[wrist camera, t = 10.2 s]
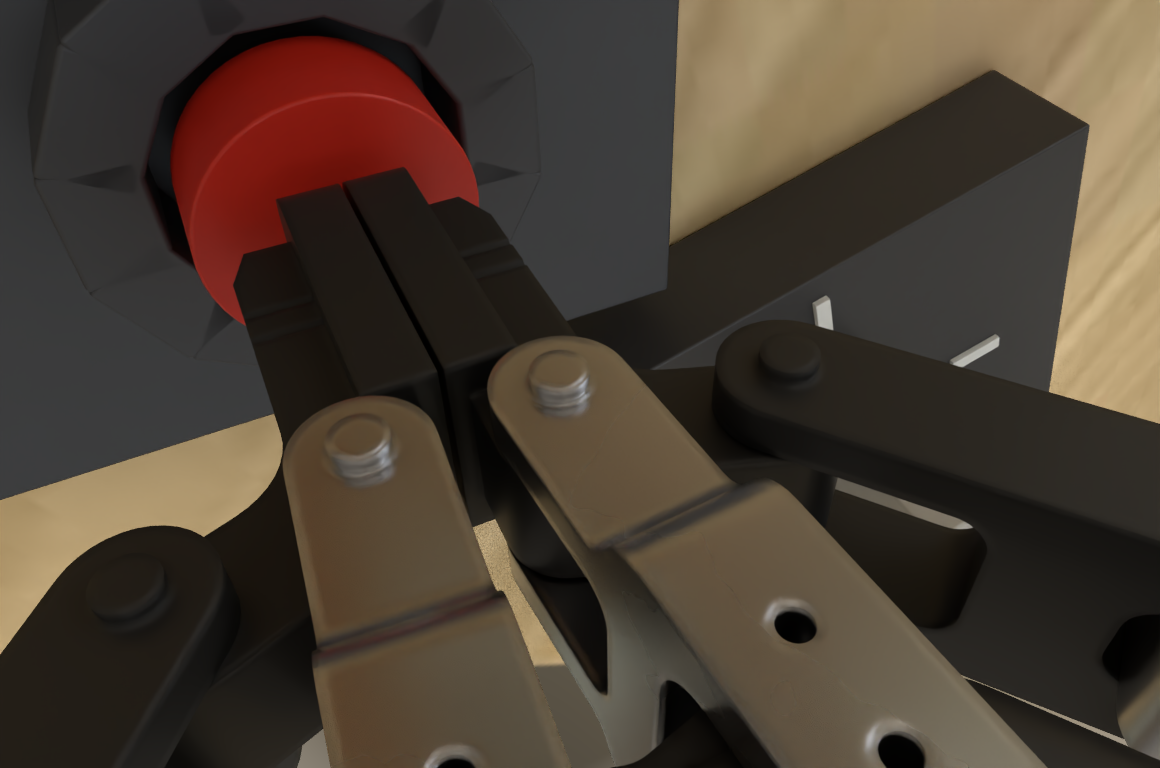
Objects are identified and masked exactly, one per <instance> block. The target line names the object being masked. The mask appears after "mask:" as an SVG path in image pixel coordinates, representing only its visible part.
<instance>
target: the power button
mask: <svg viewBox="0 0 1160 768" xmlns="http://www.w3.org/2000/svg"><path fill="white" fill-rule="evenodd" d="M400 167H405V168H406V169H407V171H408V172H409V174H410V175H411V177H412V178H413V180H414V182H415V183H416V185H417V186H418V188H419V190H420V191H421V193H422V194H423V196H424V198H425V199H426V201H427V202H428V204H432V203H436V202H440V201H444V200H447V199H451V198H455V197H461V198H463V199H464V200H466V201H468V202H470V203H472V204H473V205H475V206H477V207H479V195H478V188H477V183H476V178H475V175H474V172H473V169H472V167H471V164H470V161H469V160H468V158H467V156H466V154H465V152H464V150H463V148H462V147H461V146H460V144H459V143H458V141H457V140H456V139H455V137H454V136H453V135H452V133H451V132H450V130H449V129H448V128H447V126H446V125H445V124H444V122H443V121H442V119H441V118H440V117H439V115H438V114H437V113H436V111H435V110H434V108H433V107H432V106H431V104H430V103H429V102H428V100H427V99H426V97H425V96H424V95H423V93H422V92H421V91H420V89H419V88H418V87H417V85H416V84H415V83H414V81H413V80H412V79H411V78H410V77H409V76H408V75H407V74H406V73H405V72H404V71H403V70H402V69H401V68H400V67H399V66H397V65H396V64H395V63H393V62H392V61H391V60H389V59H388V58H387V57H385V56H383V55H381V54H379V53H378V52H376V51H374V50H372V49H370V48H367V47H365V46H362V45H360V44H357V43H355V42H351V41H347V40H343V39H339V38H332V37H323V36H297V37H290V38H283V39H278V40H274V41H271V42H267V43H263V44H260V45H258V46H256V47H253V48H251V49H248V50H246V51H244V52H242V53H240V54H239V55H237V56H235V57H233V58H232V59H230V60H228V61H227V62H225V63H224V64H223V65H222V66H220V67H219V68H218V69H216V70H215V71H214V72H213V73H211V74H210V76H209V77H208V78H207V79H206V80H205V81H204V82H203V83H202V84H201V85H200V86H199V87H198V88H197V90H196V91H195V92H194V94H193V95H192V97H191V98H190V99H189V101H188V102H187V104H186V106H185V108H184V110H183V112H182V114H181V116H180V118H179V121H178V123H177V126H176V129H175V132H174V136H173V141H172V147H171V158H170V170H171V178H172V185H173V189H174V192H175V196H176V200H177V203H178V207H179V211H180V214H181V218H182V222H183V225H184V229H185V232H186V236H187V240H188V243H189V247H190V251H191V254H192V258H193V261H194V264H195V268H196V270H197V272H198V274H199V277H200V279H201V281H202V283H203V285H204V286H205V288H206V289H207V291H208V292H209V293H210V295H211V296H212V298H213V299H214V300H215V301H216V302H217V303H218V304H219V305H220V306H221V307H222V309H223V310H224V311H226V312H227V313H228V314H229V315H231V316H232V317H233V318H234V319H236V320H237V321H238V322H240V323H242V324H243V325H245V326H246V324H245V321H244V318H243V315H242V312H241V309H240V306H239V303H238V300H237V297H236V293H235V290H234V287H233V283H234V281H235V278H236V275H237V272H238V269H239V266H240V263H241V260H242V257H243V254H246V253H249V252H253V251H257V250H261V249H264V248H268V247H272V246H276V245H279V244H283V243H287V241H286V237H285V234H284V230H283V227H282V224H281V220H280V216H279V213H278V209H277V205H276V199H278V198H282V197H286V196H290V195H294V194H298V193H302V192H306V191H310V190H314V189H318V188H322V187H326V186H330V185H334V184H339V185H340V186H341V188H342V183H343V182H345V181H349V180H353V179H357V178H361V177H364V176H368V175H372V174H376V173H380V172H384V171H388V170H392V169H396V168H400ZM342 190H343V189H342Z"/></svg>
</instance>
